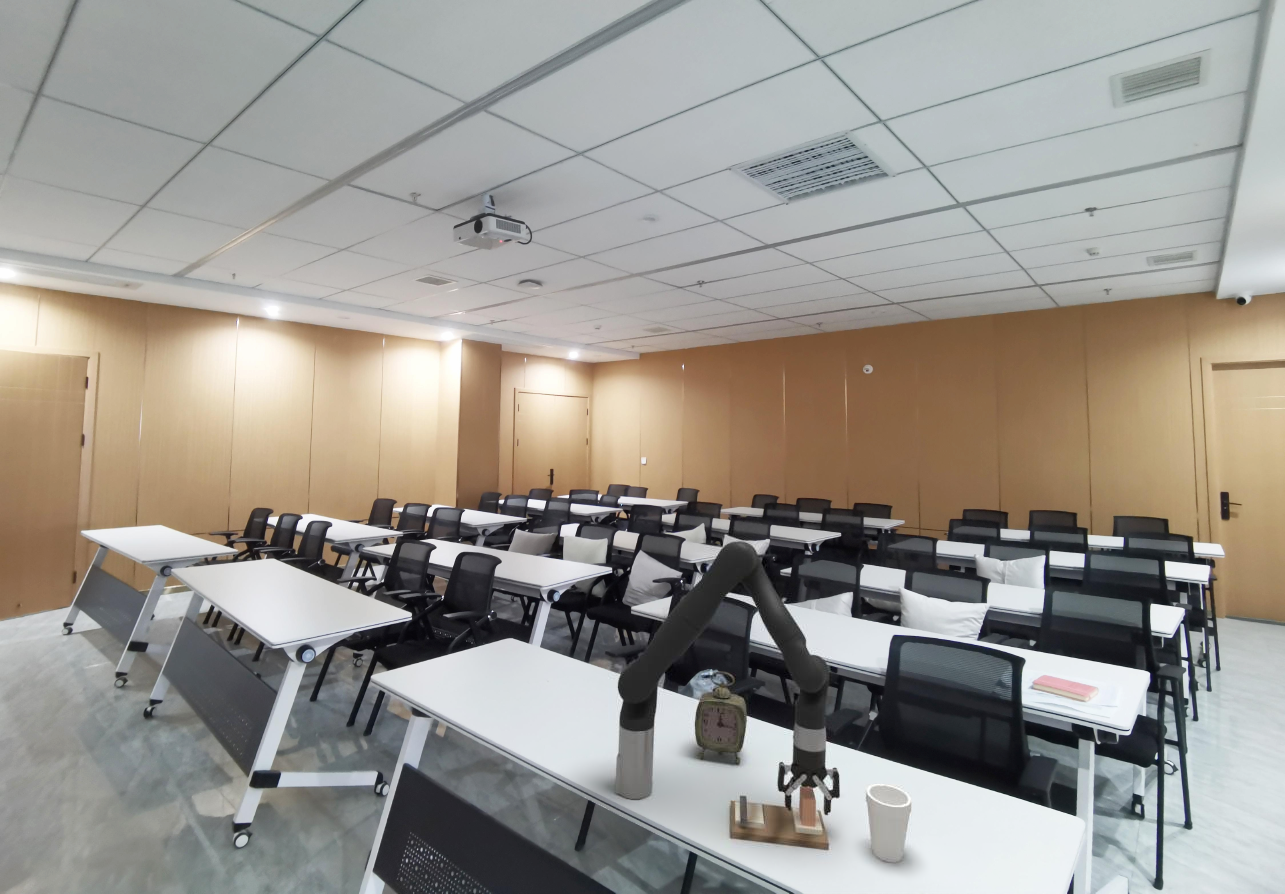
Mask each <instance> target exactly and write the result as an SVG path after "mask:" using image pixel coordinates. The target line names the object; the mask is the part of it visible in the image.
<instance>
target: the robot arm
mask: <svg viewBox="0 0 1285 894" xmlns="http://www.w3.org/2000/svg"><path fill="white" fill-rule="evenodd" d="M739 583H741V584H742V585H743V588H744V589H746V591H747V593H748V594H749V596H750V597H751V599H752V601H753V603H754V605H755V606H756V610H757V611H758V613H759V616H760V618H761V620H762V623H763V625H764V627H765V629H766V630H767V632H768V634H769V636H770V637H771V638H772V640H773V643H774V644H775V645H776V646H777V648H778V650H779V651H780V652H781V655H782V658H783V661H784V663H785V665H786V668H787V670H788V673H789V675H790V677H791V679H792V680H793V681H794V683H795V684H796V686H797V687H798V688H799V693H798V695H797V699H796V702H795V708H794V726H793V734H792V740H793V743H792V762H791V764H790V765H789V764H785V763H784V762H783V761H780V762H779V763H778V775H777V784H776V785H777V791H778V792H780V793H783V794H784V807H786V808H788V811H791V807H792V794H793V793H794V791H795V790H797V789H798V788H800V786H802V787H811V788H813V789H816V788H817V787H818V789H819V790H820V791H821V793H822V794H823V814H824V815H825V816H828V815H829V814H830V813H831V811H832V800H833V799H839V798H840V796H841V795H840V793H841V792H840V788H841V787H840V786H841V785H840V774H839V771H838V768H837V767H832V768H830V769H829V768H827V767H826V758H827V757H826V756H827V755H826V752H827V748H826V747H827V731H826V717H827V715H826V714H827V711H826V704H827V703H826V702H827V697H828V690H829V685H830V670H829V666H828V664H827V662H826V661H825V659H824V658H822V657H821V656H819V655H817V654H811V653H810V651H809V649H808V647H807V638H806V636H805V634H804V633H803V631H802V630H801V628H800V627H799V624H798V623H797V622H796V620H795V618H794V617H793V615H792V614H791V613H790V611H789V610H788V608H787V606H786V605H785V604H784V602H783V601H782V598H781V597H780V596H779V594H778V592H777V591H776V589H775V588H774V586H773V584H772V583H771V580H770V578H769V576H768V575H767V572H766V571H765V568H764V566H763V564H762V561H761V559H760V557H759V554H758V552H757V550H756V549H755V547H754V546H753V545H752V544H751V543H749V542H746V541H742V540H741V541H740V540H738V541H737V540H736V541H731V542H729V543H727V544H725V545H724V546H723V547H722V548H721V549H720V550H719V552H718V554H717V555H716V557H715V559H714V560H713V561H712V563H711V565H710V566H709V568H708V569H707V571H706V572H705V573H704V574H703V576H702V577H701V579H700V580H699V581H698V582H697V583H696V584H695V585H694V586H693V587H692V588H691V589H690V590H688V592H687V593H686V595H684V597H683V598H682V599H681V600H680V601H679V602H678V603H677V605H675V607H674V608H673V609H672V610H671V612H670V613H669V614H668V616H666V618H665V619H664V620H663V622H662V624H661V625H660V627H659V628H658V630H657V631H656V633H655V634H654V636H653V637H652V639H651V641H650V642H649V644H648V645H647V647H646V648H645V650H644V651H643V652H642V653H641V654H639V656H638V657H637V658H636V659H633V660H632V661H631V662H629V663H628V664H627V665H626V666H625V668H624V669H623V670H622V672H621V673H620V675H619V677H618V680H617V681H618V682H617V690H618V694H619V696H620V697H621V699H622V705H621V708H620V712H619V724H618V751H617V756H616V766H615V767H616V768H615V795H620V796H621V797H623V798H626V799H630V800H641V799H645V798H648V797H649V796H650V795H651V794H652V792H653V775H654V774H653V773H654V741H655V739H654V738H655V718H656V714H657V713H656V712H657V706H658V705H657V704H658V689H659V688H658V687H659V682H660V679H661V678H662V677H663V675H664V674H665V672H666V671H667V670H668V669H669V668H670V667H671V666H672V665H673V664H674V663H675V662H676V661H677V660H678V659H680V657H681V656H682V655H683V654H684V653H685V652H686V651H687V650H688V649H689V648H690V647H691V645H692V644H694V643H695V642H696V641H697V639H698V638H699V637H700V636H701V635H702V634H703V632H704V631H705V630H706V629H707V627H708V626H709V624H710V623H711V621H712V619H713V618H714V616H715V614H716V612H717V610H718V609H719V607H720V605H721V603H722V601H723V600H724V599H725V598H726V597H727V595H728V594H729V593H730V592H731V591H732V590H733V589H734V588H735V587H736V586H737V585H738V584H739ZM789 772H791V774H792V776H791V778H790V779H789V781H788V782H787V783H786V784H785V776H787V775H788V773H789ZM827 777H829V779H830V780H831V781H832V789H829V787H828V786H827V785H826V783H825V781H824V780H825V779H826V778H827Z"/></svg>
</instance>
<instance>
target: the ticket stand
mask: <svg viewBox="0 0 1285 894" xmlns="http://www.w3.org/2000/svg"><path fill="white" fill-rule="evenodd" d="M747 799H748V798H747V795H739V800H730V839H733V840H734V839H736V840H742V841H743V840H744V841H752V842H758V843H760V842H761V843H768V844H775V845H784V846H793V847H794V846H795V847H801V848H810V849H817V850H826V851H829V850H830V849H829V848H830V842H829V839H828V834H827V831H826V827H825V823H824V820H823V816H822V815H823V814H822V812H821V810H820V809H818V810H817V809H816V810H817V811H818V814H819V818H820V822H821V826H822V830H823V832H822V835H813V834H805V833H796V831H795V825H794V820H793V814H792V808H794V807H792V806H791V811H788V808H786V806H785V805H784V806H783V805H775V804H774V805H773V804H765V803H756V802H747V801H748V800H747Z"/></svg>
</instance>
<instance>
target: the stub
mask: <svg viewBox="0 0 1285 894" xmlns="http://www.w3.org/2000/svg"><path fill="white" fill-rule="evenodd" d="M816 799H817V798H816V796H815V791H814V788H811V787H802V786H801V785H800V786H799V801H798V803H799V805H798V807H793V808H792V814H793V820H794V825H795V831H796V833H805V834H813V835H822V832H823V830H822V826H821V822H820V818H819V814H818V811H817V800H816Z"/></svg>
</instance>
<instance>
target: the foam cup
mask: <svg viewBox="0 0 1285 894" xmlns="http://www.w3.org/2000/svg"><path fill="white" fill-rule="evenodd" d="M865 791H866V792H865V801H866V804H867V805H866V807H867V814H868V823H869V825H868V826H869V834H870V843H871V844H870V846H871V850H872V854H874V856H876V858H878V859H879V860H881V861H884V862H887V863H898V862H900V861H902V858H903V855H904V851H905V849H904V848H905V845H906V844H905V843H906V839H907V832H908V826H909V820H910V814H911V812H912V799H911V796H910V795H909V794H908V793H907V792H906V791H905V790H903V789H902V788H898V787H896V786H893V785H890V784H884V783H875V784H871V785H869V786H868V787H867V788H866V790H865Z"/></svg>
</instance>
